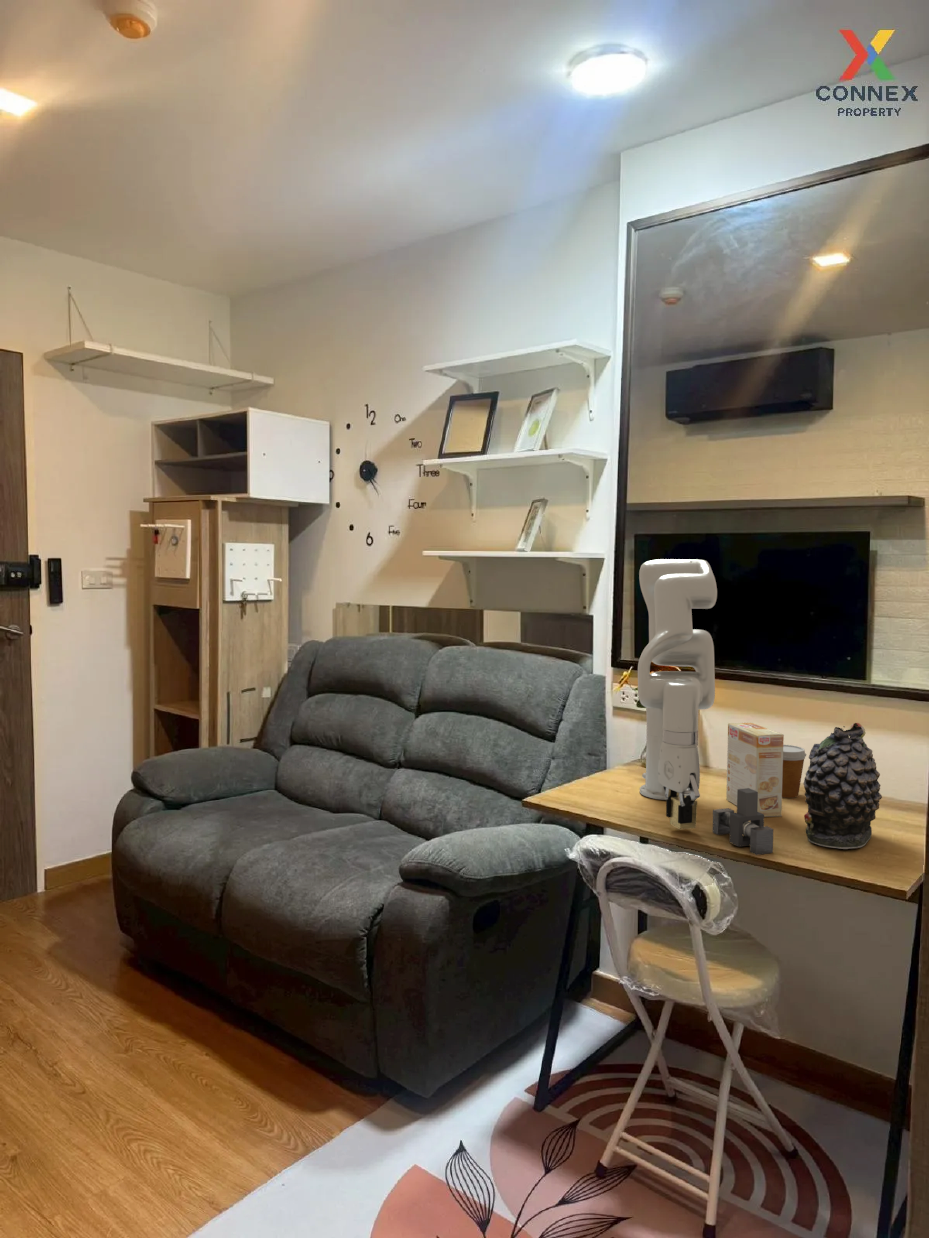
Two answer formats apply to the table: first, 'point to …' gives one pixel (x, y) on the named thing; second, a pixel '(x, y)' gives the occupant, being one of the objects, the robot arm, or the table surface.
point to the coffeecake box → (755, 765)
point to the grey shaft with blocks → (745, 831)
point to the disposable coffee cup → (792, 770)
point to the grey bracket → (744, 816)
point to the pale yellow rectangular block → (674, 814)
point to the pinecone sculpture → (841, 790)
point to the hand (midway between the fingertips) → (678, 818)
